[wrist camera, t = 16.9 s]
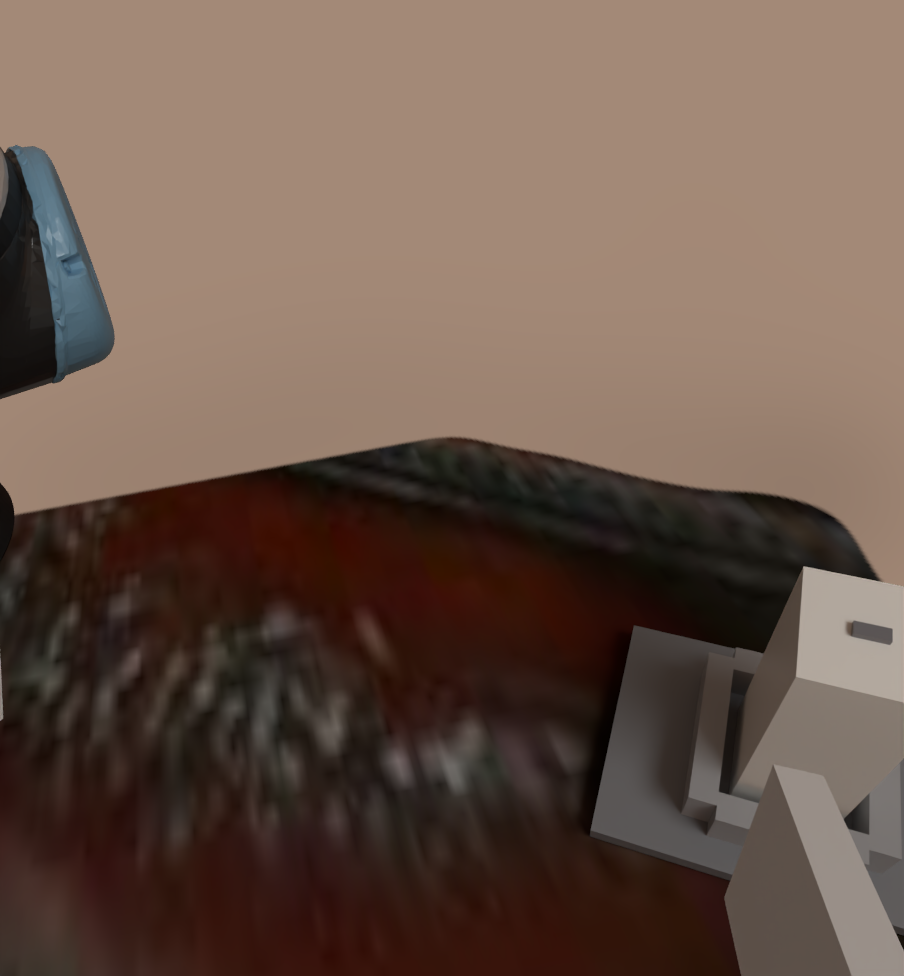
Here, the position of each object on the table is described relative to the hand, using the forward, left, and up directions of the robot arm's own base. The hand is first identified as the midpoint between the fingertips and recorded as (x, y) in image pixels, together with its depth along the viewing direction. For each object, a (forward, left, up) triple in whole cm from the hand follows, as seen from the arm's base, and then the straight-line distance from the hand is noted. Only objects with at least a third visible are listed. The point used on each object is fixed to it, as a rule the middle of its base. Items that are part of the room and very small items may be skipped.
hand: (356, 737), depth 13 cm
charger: (+5, +16, -25) cm, 30 cm away
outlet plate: (+5, +16, -26) cm, 31 cm away
